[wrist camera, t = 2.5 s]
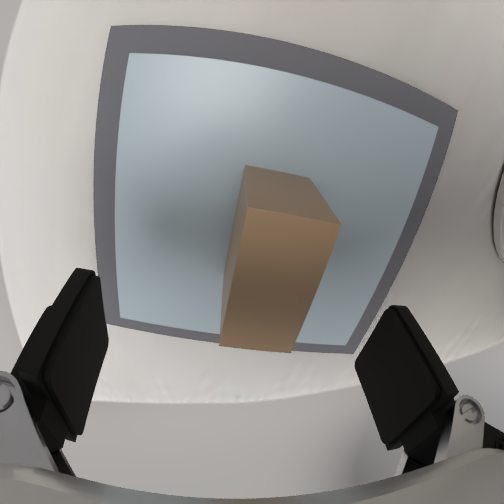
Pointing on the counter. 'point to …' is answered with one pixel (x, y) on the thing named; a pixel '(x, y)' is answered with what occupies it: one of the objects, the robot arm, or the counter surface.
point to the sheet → (205, 170)
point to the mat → (267, 56)
